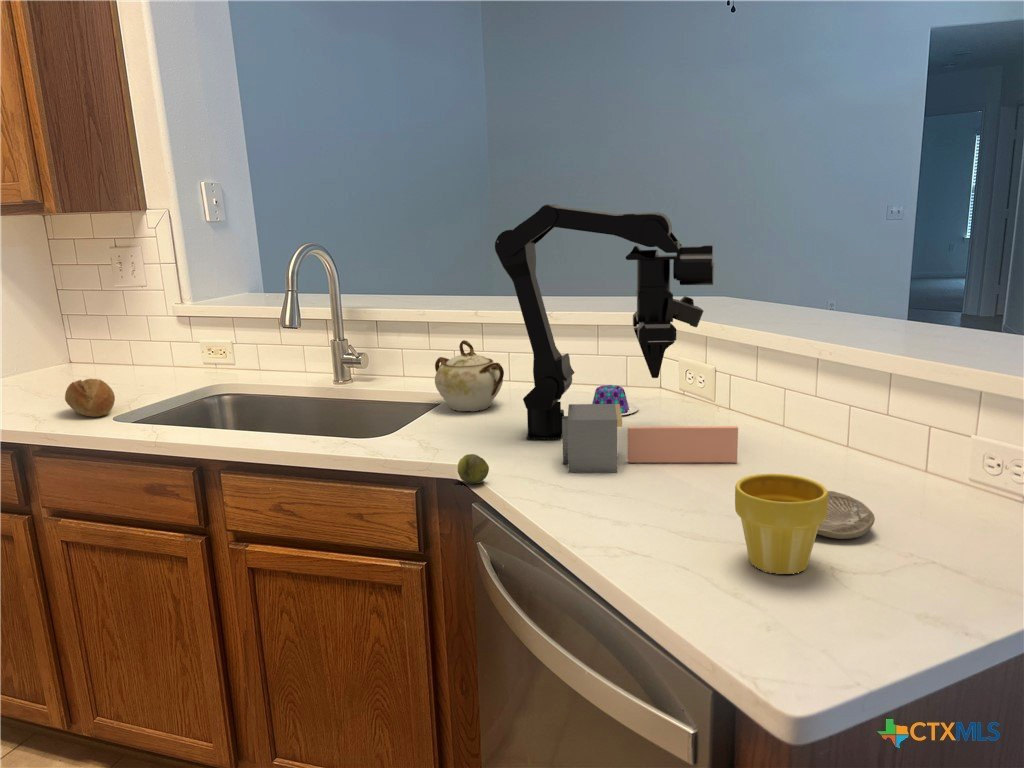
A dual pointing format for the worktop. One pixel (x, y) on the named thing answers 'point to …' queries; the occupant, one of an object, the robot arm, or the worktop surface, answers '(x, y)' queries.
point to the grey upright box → (591, 438)
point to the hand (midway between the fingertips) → (652, 372)
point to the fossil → (845, 517)
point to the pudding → (613, 398)
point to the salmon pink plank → (683, 444)
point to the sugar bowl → (468, 380)
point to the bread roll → (90, 397)
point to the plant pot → (780, 519)
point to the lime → (472, 468)
